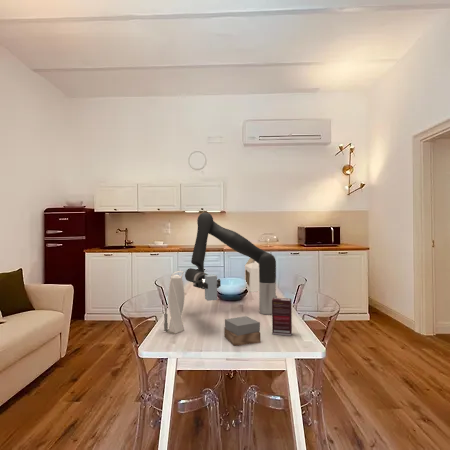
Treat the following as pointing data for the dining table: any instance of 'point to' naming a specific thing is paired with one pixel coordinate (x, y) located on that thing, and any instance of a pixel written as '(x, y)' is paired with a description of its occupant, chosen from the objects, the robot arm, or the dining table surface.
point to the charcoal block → (242, 325)
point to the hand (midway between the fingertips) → (212, 286)
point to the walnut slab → (242, 338)
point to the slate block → (211, 287)
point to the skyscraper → (175, 305)
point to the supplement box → (281, 316)
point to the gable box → (252, 275)
